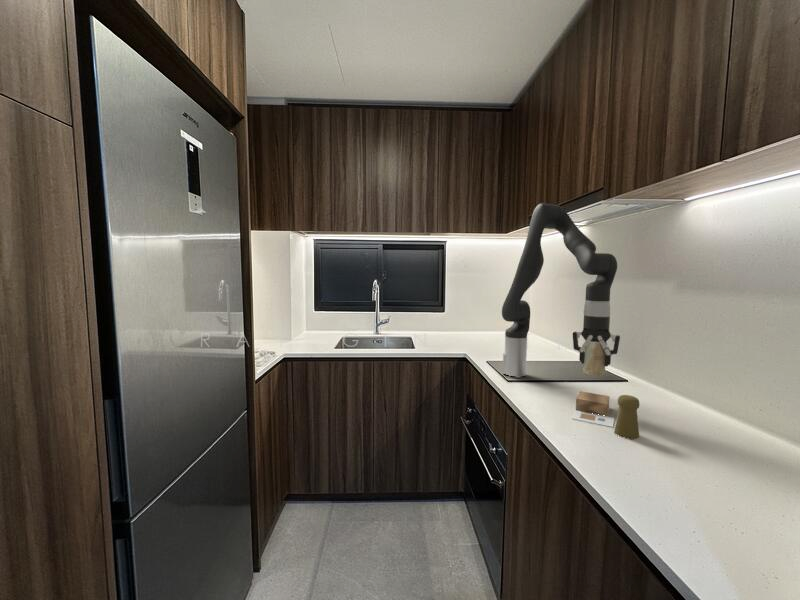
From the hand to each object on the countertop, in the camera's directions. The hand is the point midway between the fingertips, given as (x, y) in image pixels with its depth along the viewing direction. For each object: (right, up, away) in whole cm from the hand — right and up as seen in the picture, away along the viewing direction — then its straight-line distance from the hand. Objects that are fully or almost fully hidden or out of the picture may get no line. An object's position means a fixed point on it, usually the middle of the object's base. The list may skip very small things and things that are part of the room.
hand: (594, 364), depth 119 cm
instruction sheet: (-4, -16, -7) cm, 18 cm away
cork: (0, -17, -18) cm, 24 cm away
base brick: (0, -15, +1) cm, 15 cm away
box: (0, -3, 0) cm, 3 cm away
